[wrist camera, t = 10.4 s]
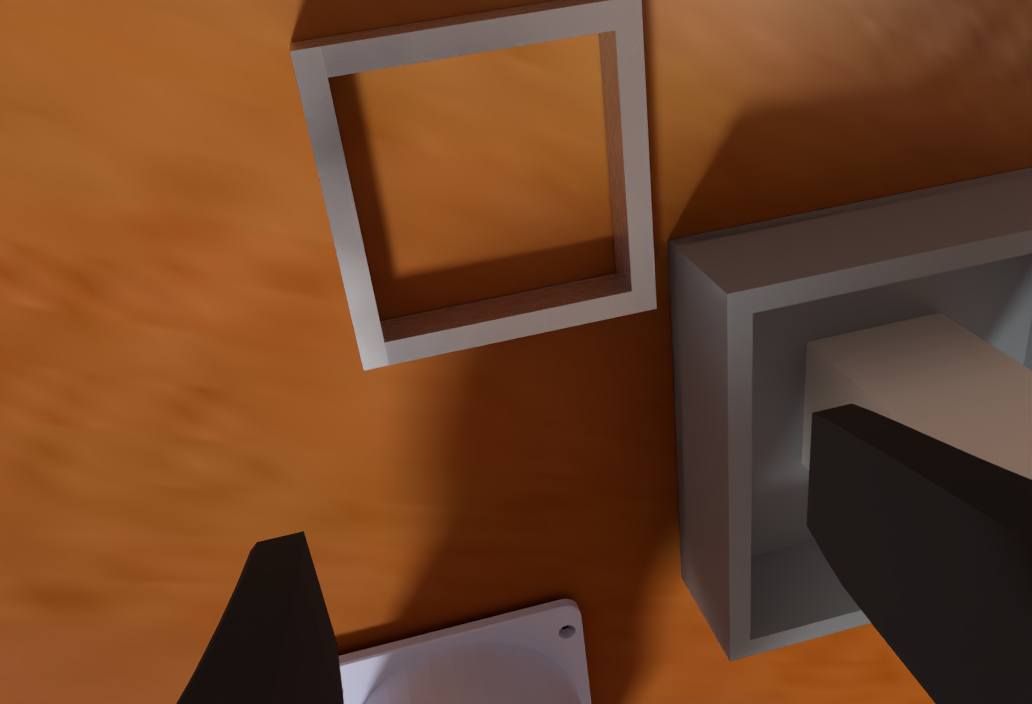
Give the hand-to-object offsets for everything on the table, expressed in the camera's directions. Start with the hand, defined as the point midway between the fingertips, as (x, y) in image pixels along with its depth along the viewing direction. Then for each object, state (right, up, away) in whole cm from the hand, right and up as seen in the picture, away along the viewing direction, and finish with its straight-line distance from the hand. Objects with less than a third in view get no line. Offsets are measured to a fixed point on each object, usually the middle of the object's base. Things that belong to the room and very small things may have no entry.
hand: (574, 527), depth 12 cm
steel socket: (-2, +6, +8) cm, 11 cm away
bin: (+9, +1, +14) cm, 16 cm away
